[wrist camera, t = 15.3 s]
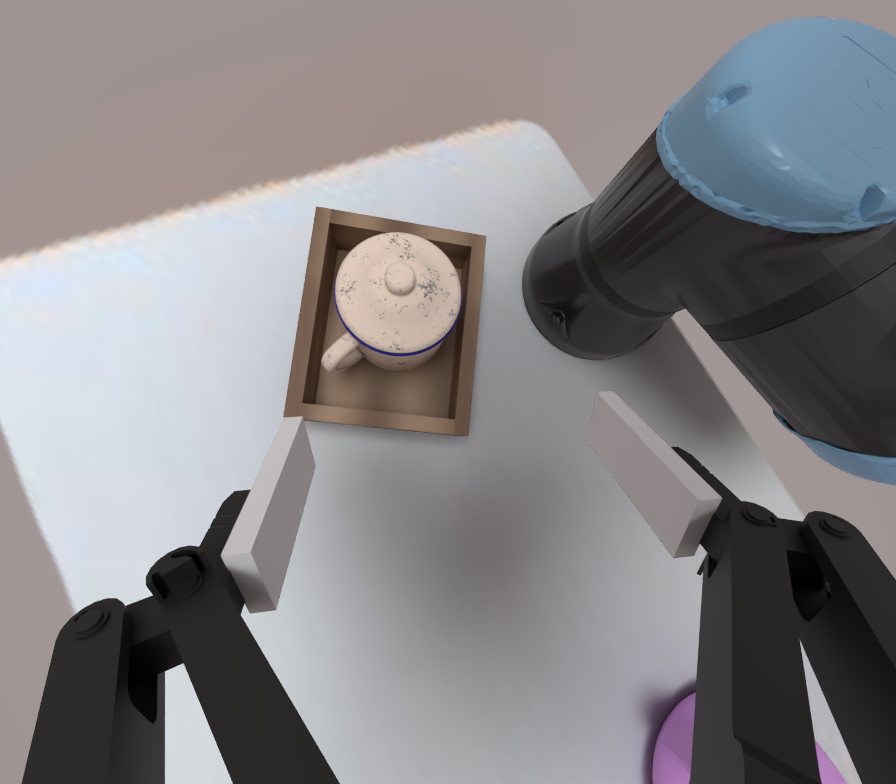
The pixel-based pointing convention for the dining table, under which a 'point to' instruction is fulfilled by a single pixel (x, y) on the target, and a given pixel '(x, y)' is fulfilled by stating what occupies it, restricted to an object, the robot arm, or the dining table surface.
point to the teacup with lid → (394, 303)
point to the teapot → (677, 749)
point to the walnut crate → (363, 384)
